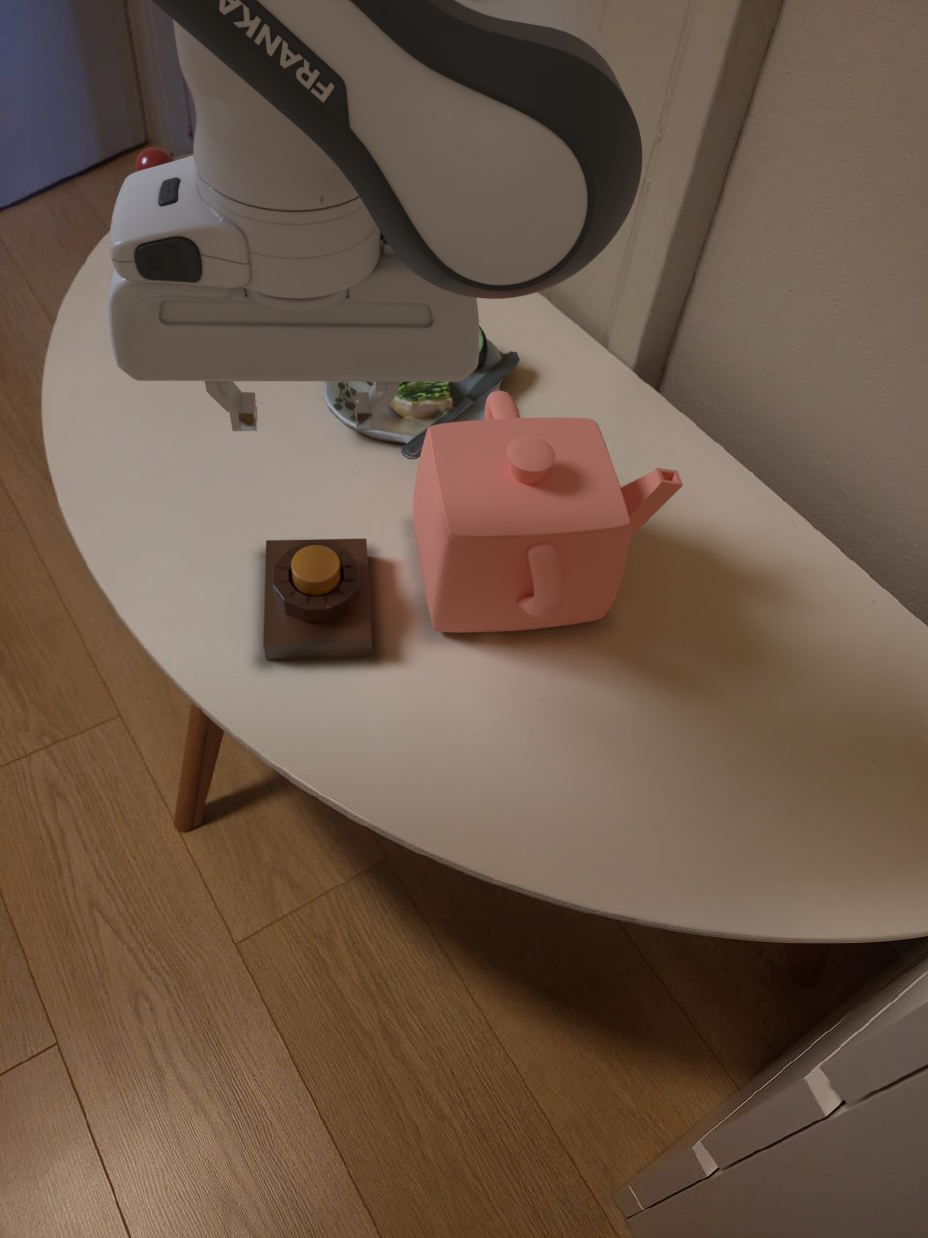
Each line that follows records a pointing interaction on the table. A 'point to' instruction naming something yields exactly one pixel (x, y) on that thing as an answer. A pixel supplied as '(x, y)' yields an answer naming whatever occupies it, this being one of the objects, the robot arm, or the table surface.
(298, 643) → the button block
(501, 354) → the plate of avocado toast
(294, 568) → the button
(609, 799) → the table surface
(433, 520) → the teapot
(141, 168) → the lever
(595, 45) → the robot arm
